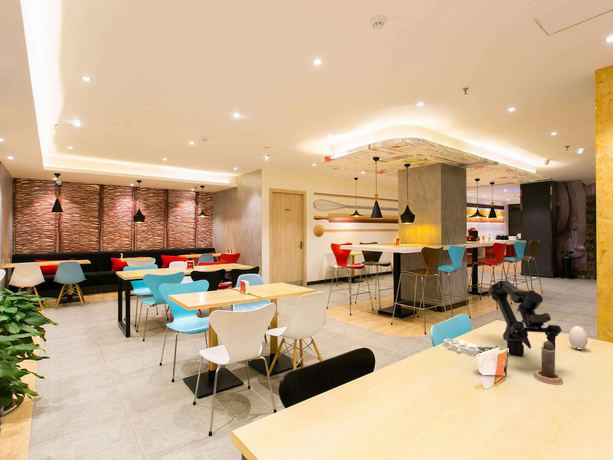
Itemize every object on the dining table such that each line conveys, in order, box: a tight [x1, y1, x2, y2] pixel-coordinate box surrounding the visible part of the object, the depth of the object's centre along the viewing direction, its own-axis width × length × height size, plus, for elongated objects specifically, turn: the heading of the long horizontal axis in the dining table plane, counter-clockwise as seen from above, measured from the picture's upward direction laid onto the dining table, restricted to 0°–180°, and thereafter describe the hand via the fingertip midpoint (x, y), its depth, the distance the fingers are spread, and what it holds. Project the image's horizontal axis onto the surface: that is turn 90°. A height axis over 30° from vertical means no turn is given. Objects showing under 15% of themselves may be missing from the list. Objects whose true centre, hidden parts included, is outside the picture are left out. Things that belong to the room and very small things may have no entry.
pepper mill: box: [540, 340, 556, 378], centre depth 136 cm, size 4×4×15 cm
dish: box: [533, 369, 564, 386], centre depth 136 cm, size 10×10×2 cm
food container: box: [478, 346, 511, 377], centre depth 142 cm, size 12×6×10 cm, turn 84°
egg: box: [568, 325, 589, 350], centre depth 170 cm, size 7×7×12 cm
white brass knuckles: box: [443, 338, 482, 357], centre depth 169 cm, size 3×18×15 cm
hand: (542, 348), depth 140 cm, fingers open, 9 cm apart
